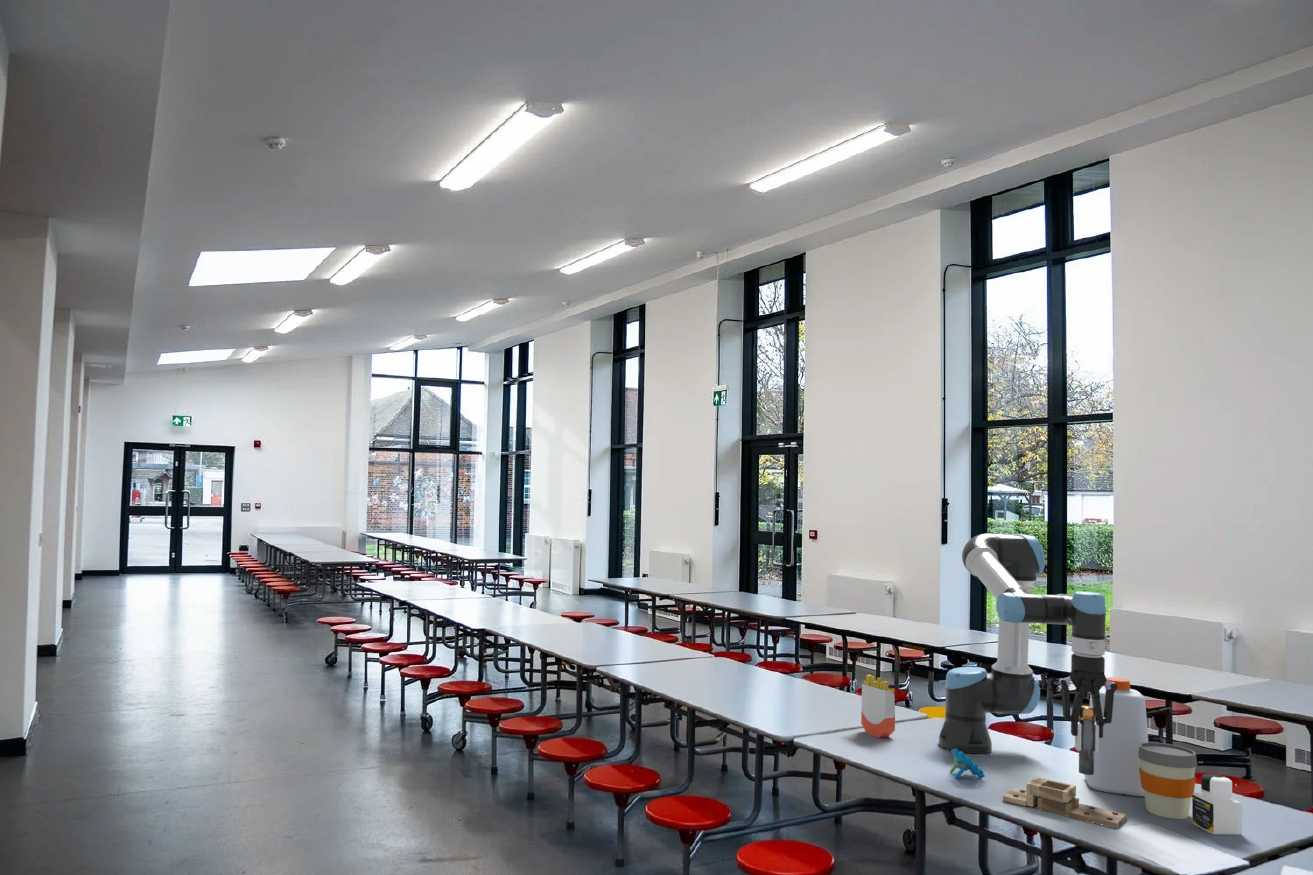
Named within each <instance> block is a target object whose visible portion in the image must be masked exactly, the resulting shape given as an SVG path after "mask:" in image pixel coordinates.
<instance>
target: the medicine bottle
mask: <svg viewBox="0 0 1313 875" xmlns="http://www.w3.org/2000/svg"><path fill="white" fill-rule="evenodd" d="M1200 777H1201V778H1200V784H1201V786H1200V789H1201V790H1200V791H1201V792H1194V793H1193V794H1192V797H1191V801H1192V802H1191V803H1192V804H1191V805H1192V806H1191V808H1192V809H1191V810H1192V812H1191V813H1192V815H1191V816H1192V817H1191V818H1192V820H1191V821H1192V824H1193V826H1196V827H1198V828H1200V829H1202V830H1203V831H1206V832H1208V833H1210V834H1212V835H1215V836H1216V835H1220V836H1221V835H1228V836H1229V835H1230V836H1232V835H1233V836H1235V835H1236V836H1241V835H1242V834H1243V812H1242V811H1243V809H1242V808H1243V806H1242V805H1243V804H1242V803H1241V801H1237V800H1235V799H1234V798H1232V797H1233V781H1232V780H1231V779H1230V778H1228V777H1227V776H1224V775H1221V774H1215V773H1206V774H1203V775H1202V776H1200Z"/></svg>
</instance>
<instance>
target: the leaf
mask: <svg viewBox="0 0 1313 875" xmlns="http://www.w3.org/2000/svg"><path fill="white" fill-rule="evenodd" d="M1038 797H1044V798H1048V799H1052V800H1057V801H1061V802H1066V803H1068V802H1069V801H1070V800H1071V799H1073V798H1074V797H1077V785H1074V784H1069V783H1065V782H1061V781H1056V780H1051V779H1048V778H1044V777H1043V778H1041V777H1037V776H1036V777H1034V778H1033V779H1031V780H1029V781H1028V782H1026V789H1022V788H1017V787H1014V788H1012V789H1011V790H1009V791H1008V792H1006V793H1005V794H1003V795H1002V802H1006V803H1011V804H1014V805H1015V804H1016V805H1019V806H1023V807H1026V806H1028V807H1031V808H1032V807H1033V808H1034V806H1036V805H1038Z"/></svg>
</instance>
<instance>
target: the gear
mask: <svg viewBox="0 0 1313 875" xmlns="http://www.w3.org/2000/svg"><path fill="white" fill-rule="evenodd" d="M950 751H951V753H952V754H951V755H952V756H953V757H954V759H953V762H954V763H953V766H952V767H951V769H950V770H949V773H950V774H952V773H954V771H956V769H959V770H958V771H957V772H956V773H955V775H954V777H955V778H956V779H959V778H960V777H961V775H963V774H964V772H965V771H969V772H970V773H971V775H973V776H976V777H977V778H979V779H981V778H982V779H984V778H985V776H986V775H985V774H984V773H985V772H984V771H983V769H981V768H979V767H980V766H979V765H978V764H977V763H976V762H975V763H974V762H973V761H972V760H973V759H972V758H971V757H969V756H966V755H965V752H961V751H960V752H959V751H958V750H957V749H955V750H954V749H952V750H950Z"/></svg>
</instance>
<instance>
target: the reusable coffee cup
mask: <svg viewBox="0 0 1313 875" xmlns="http://www.w3.org/2000/svg"><path fill="white" fill-rule="evenodd" d="M1138 757H1139V758H1140V765H1141V767H1140V768H1139V771H1140V779H1141V786H1142V788H1143V789H1144V795H1145V796H1144V800H1145V808H1146V810H1147V811H1148V813H1151V814H1153V815H1156V816H1159V817H1163V818H1169V819H1179V820H1183V819H1187V817H1188V818H1189V816H1190V815H1189V814H1190V809H1191V803H1192V802H1191V801H1192V794H1193V793H1195V787H1196V780H1197V777H1196V776H1195V772H1196V768H1197V766H1198V762H1197V761H1198V760H1197V753H1196V752H1195V751H1194V750H1192V749H1190V748H1187V747H1184V746H1181V745H1175V744H1171V743H1162V742H1148V743H1141V744H1139V751H1138Z"/></svg>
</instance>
